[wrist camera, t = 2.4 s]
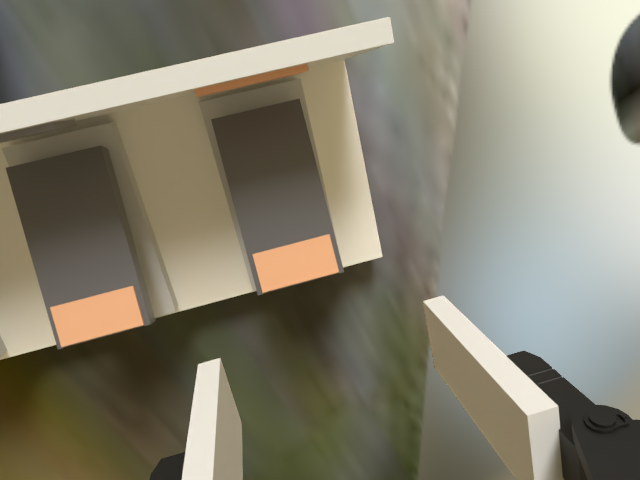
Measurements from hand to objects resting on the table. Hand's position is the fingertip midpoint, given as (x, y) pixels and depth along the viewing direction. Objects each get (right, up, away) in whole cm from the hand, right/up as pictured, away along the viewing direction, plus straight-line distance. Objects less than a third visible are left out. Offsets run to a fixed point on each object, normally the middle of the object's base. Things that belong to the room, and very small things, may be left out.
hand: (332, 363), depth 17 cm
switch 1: (-13, +4, +10) cm, 17 cm away
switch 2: (-3, +7, +11) cm, 13 cm away
